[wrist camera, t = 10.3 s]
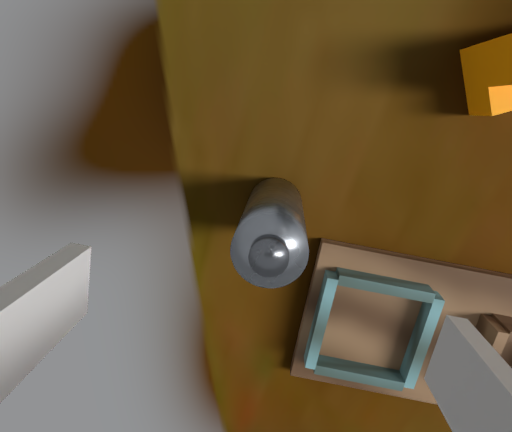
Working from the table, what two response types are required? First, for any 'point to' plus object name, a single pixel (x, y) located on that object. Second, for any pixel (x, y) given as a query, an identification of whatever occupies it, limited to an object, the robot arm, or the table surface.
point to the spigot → (271, 236)
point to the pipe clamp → (488, 76)
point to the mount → (392, 317)
